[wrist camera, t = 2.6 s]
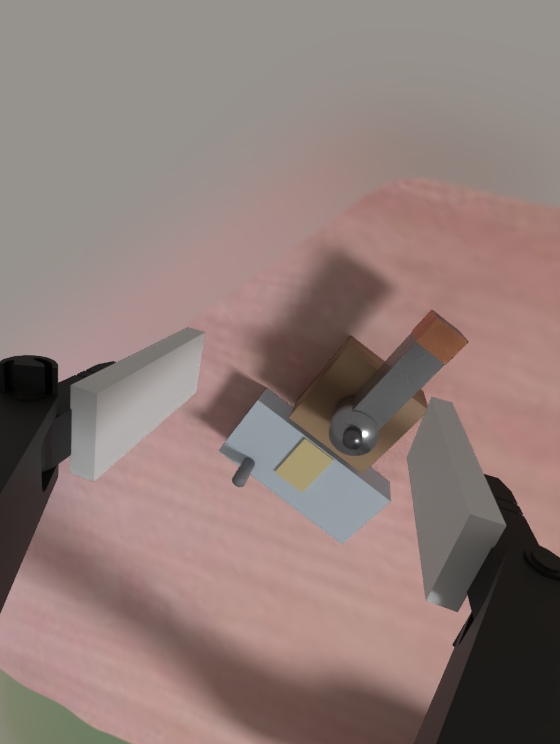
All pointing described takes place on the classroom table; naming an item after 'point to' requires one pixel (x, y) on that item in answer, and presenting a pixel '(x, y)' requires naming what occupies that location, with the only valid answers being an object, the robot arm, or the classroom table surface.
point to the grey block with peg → (303, 470)
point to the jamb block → (346, 380)
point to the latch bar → (393, 384)
